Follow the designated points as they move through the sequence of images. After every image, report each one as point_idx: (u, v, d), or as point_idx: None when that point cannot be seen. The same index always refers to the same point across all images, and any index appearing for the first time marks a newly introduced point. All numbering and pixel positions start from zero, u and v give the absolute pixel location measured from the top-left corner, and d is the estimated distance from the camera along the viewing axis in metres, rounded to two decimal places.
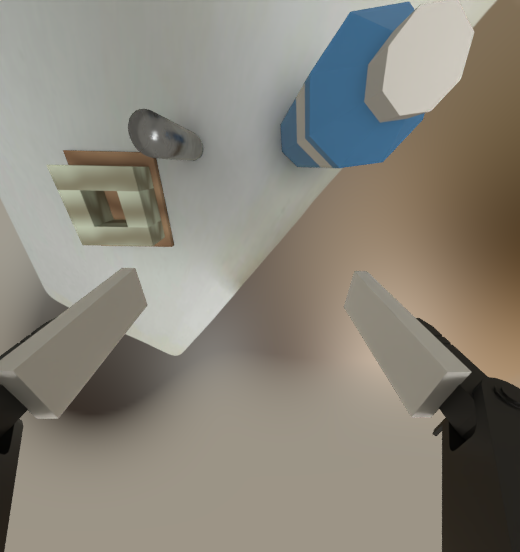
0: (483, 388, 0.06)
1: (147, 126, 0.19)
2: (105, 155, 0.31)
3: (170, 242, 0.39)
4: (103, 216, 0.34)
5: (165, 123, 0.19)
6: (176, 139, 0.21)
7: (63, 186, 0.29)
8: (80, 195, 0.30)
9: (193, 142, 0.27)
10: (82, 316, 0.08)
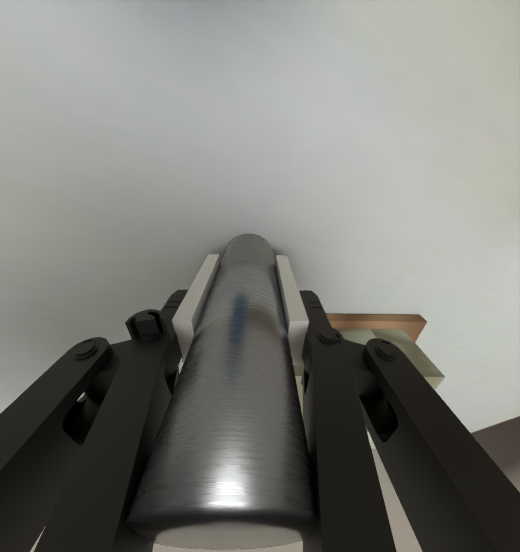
0: (311, 337, 0.07)
1: (192, 533, 0.04)
2: None
3: (417, 322, 0.19)
4: None
5: (165, 487, 0.03)
6: (239, 390, 0.05)
7: None
8: None
9: (243, 263, 0.11)
10: (205, 288, 0.10)
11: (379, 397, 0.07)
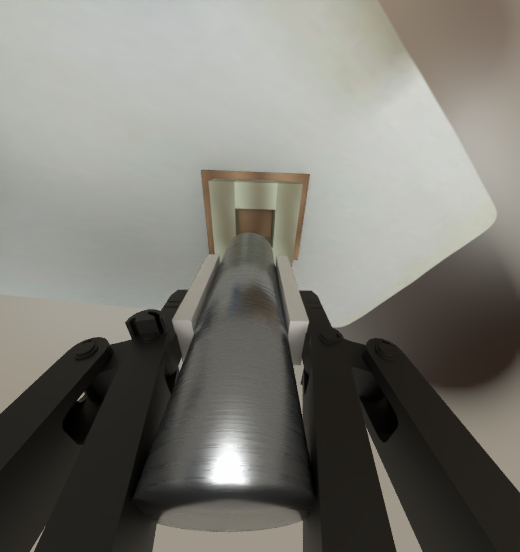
0: (311, 337, 0.07)
1: (194, 512, 0.04)
2: (209, 222, 0.32)
3: (303, 175, 0.29)
4: None
5: (170, 465, 0.04)
6: (239, 378, 0.05)
7: None
8: None
9: (243, 261, 0.11)
10: (205, 288, 0.10)
11: (379, 397, 0.07)
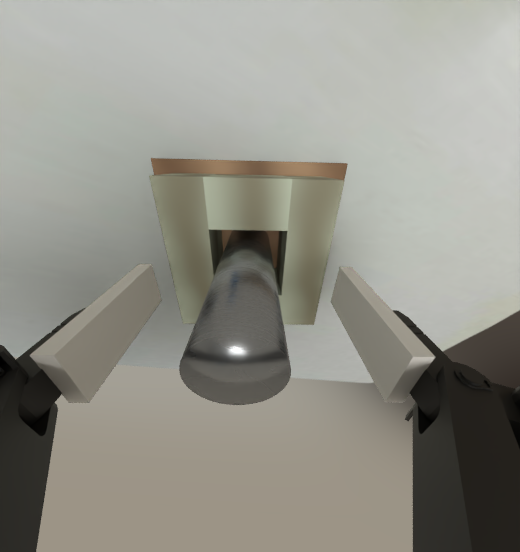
0: (445, 372, 0.06)
1: (216, 374, 0.07)
2: None
3: (336, 165, 0.16)
4: None
5: (204, 335, 0.06)
6: (242, 300, 0.08)
7: None
8: None
9: (244, 241, 0.14)
10: (108, 308, 0.08)
11: None
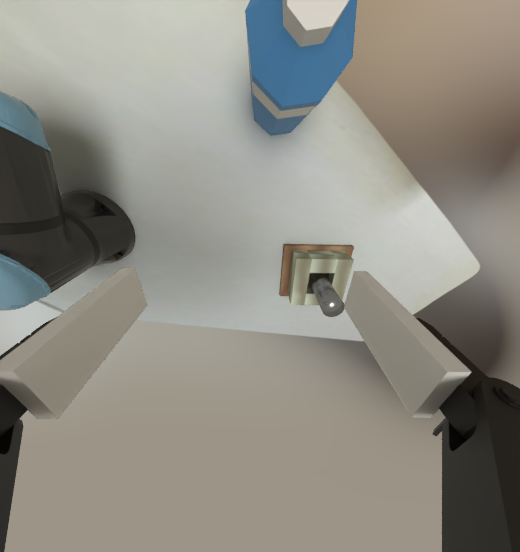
0: (483, 388, 0.06)
1: (329, 308, 0.36)
2: (284, 274, 0.48)
3: (349, 247, 0.45)
4: None
5: (329, 299, 0.35)
6: (333, 293, 0.36)
7: (303, 301, 0.46)
8: (309, 294, 0.45)
9: (320, 276, 0.42)
10: (82, 316, 0.08)
11: None
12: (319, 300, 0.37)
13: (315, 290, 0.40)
